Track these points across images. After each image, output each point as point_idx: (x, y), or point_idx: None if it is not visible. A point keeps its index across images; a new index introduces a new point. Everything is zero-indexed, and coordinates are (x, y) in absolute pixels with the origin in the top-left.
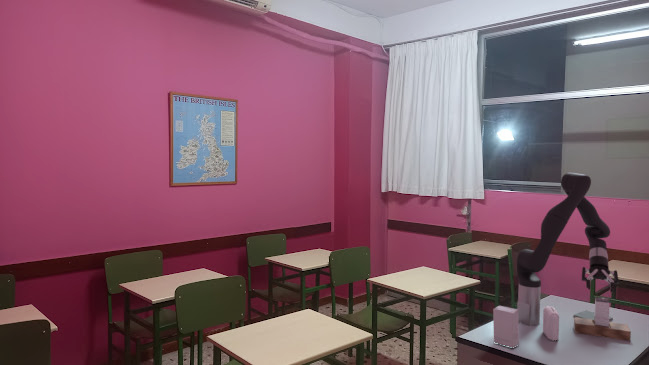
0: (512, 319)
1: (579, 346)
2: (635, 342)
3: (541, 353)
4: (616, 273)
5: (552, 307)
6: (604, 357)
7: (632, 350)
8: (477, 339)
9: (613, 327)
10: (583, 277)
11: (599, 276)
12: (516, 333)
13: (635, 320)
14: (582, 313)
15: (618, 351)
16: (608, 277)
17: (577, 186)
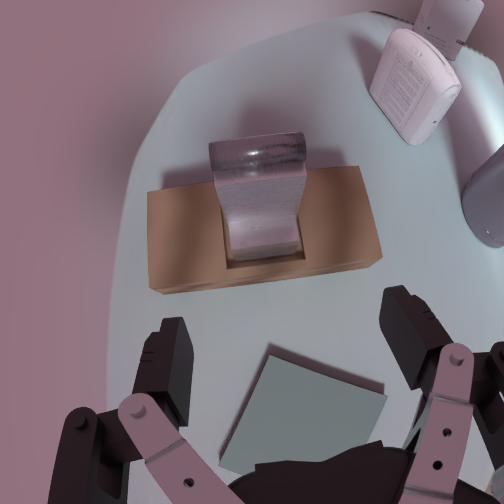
0: None
1: (309, 82)
2: (145, 206)
3: (366, 29)
4: None
5: (429, 48)
6: (243, 55)
7: (167, 129)
8: (474, 57)
9: (209, 201)
10: (501, 346)
11: (327, 460)
12: (423, 17)
13: (137, 489)
14: (351, 446)
15: (207, 101)
16: (176, 448)
17: None
